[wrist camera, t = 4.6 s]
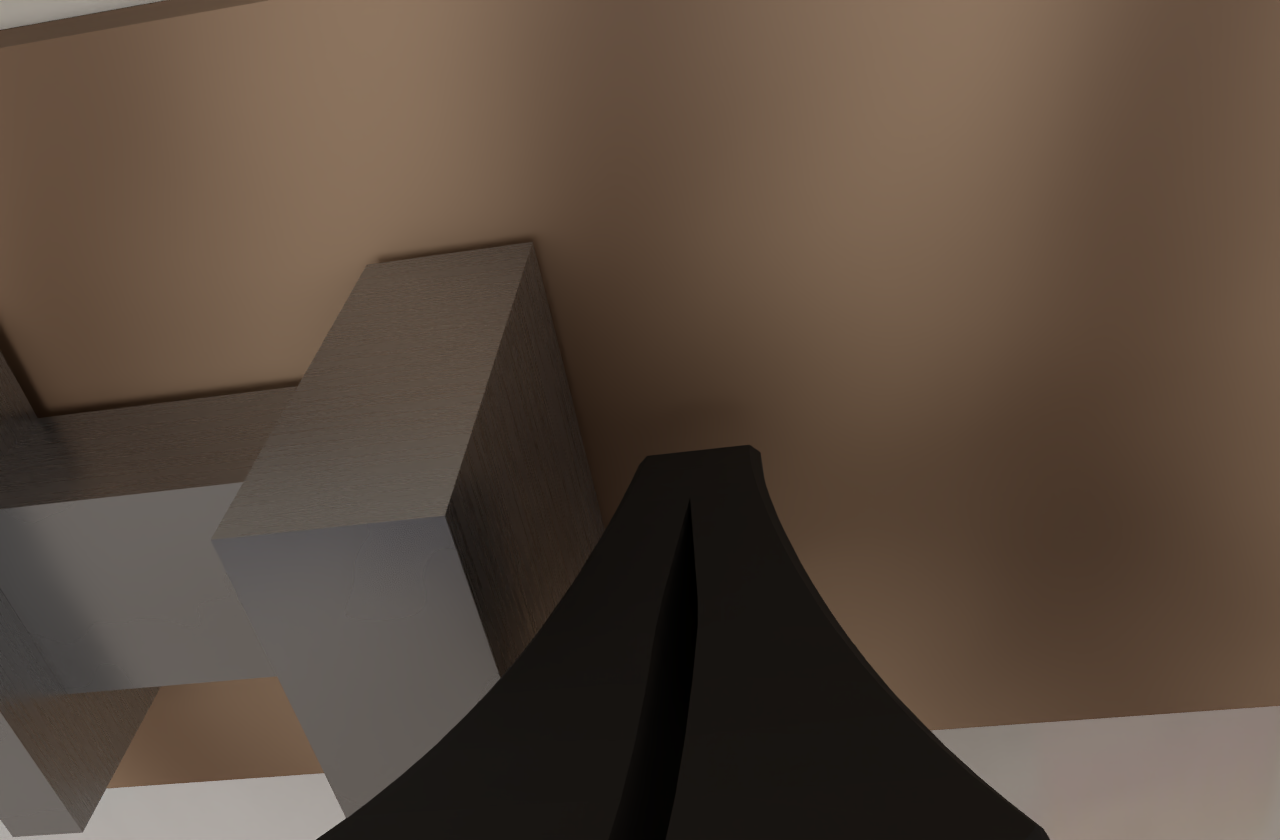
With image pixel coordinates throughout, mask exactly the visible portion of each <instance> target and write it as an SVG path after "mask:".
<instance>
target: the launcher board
mask: <svg viewBox="0 0 1280 840" xmlns="http://www.w3.org/2000/svg"><path fill="white" fill-rule="evenodd" d="M527 242H533V245H534V249H535V253H536V257H537V261H538V265H539V269H540V273H541V277H542V281H543V285H544V289H545V293H546V297H547V301H548V305H549V309H550V313H551V317H552V321H553V325H554V329H555V333H556V337H557V341H558V345H559V349H560V353H561V357H562V361H563V365H564V369H565V373H566V377H567V381H568V385H569V389H570V393H571V397H572V401H573V405H574V409H575V413H576V417H577V421H578V425H579V429H580V433H581V437H582V441H583V445H584V449H585V453H586V457H587V461H588V465H589V469H590V473H591V477H592V481H593V485H594V489H595V493H596V497H597V501H598V505H599V509H600V513H601V517H602V521H603V525H604V529H606V528H607V526H608V524H609V522H610V520H611V519H612V517H613V515H614V513H615V511H616V510H617V508H618V506H619V504H620V502H621V500H622V498H623V496H624V494H625V493H626V491H627V489H628V487H629V485H630V483H631V481H632V479H633V477H634V474H635V472H636V470H637V468H638V466H639V464H640V463H641V462H642V461H643V460H644V459H645V458H646V456H650V455H659V454H668V453H677V452H686V451H695V450H705V449H714V448H723V447H732V446H741V445H751V446H752V447H754V448H755V449H757V450H758V451H759V452H761V458H762V465H763V472H764V478H765V483H766V486H767V489H768V492H769V495H770V498H771V500H772V503H773V505H774V508H775V510H776V513H777V515H778V518H779V520H780V522H781V524H782V526H783V529H784V531H785V533H786V535H787V537H788V538H789V540H790V542H791V544H792V546H793V548H794V550H795V552H796V554H797V556H798V558H799V560H800V562H801V564H802V565H803V567H804V569H805V570H806V572H807V574H808V576H809V577H810V579H811V581H812V583H813V584H814V586H815V587H816V589H817V590H818V592H819V594H820V595H821V597H822V598H823V600H824V602H825V603H826V605H827V606H828V608H829V609H830V611H831V612H832V614H833V615H834V617H835V618H836V620H837V621H838V623H839V624H840V625H841V627H842V628H843V630H844V631H845V632H846V634H847V635H848V637H849V638H850V639H851V641H852V642H853V643H854V645H855V646H856V647H857V648H858V650H859V651H860V652H861V654H862V655H863V656H864V658H865V659H866V660H867V661H868V663H869V664H870V665H871V666H872V667H873V669H874V670H875V671H876V672H877V673H878V675H879V676H880V677H881V678H882V679H883V681H884V682H885V683H886V684H887V685H888V687H889V688H890V689H891V690H892V691H893V692H894V694H895V695H896V696H897V697H898V698H899V699H900V700H901V701H902V702H903V703H904V704H905V705H906V706H907V707H908V708H909V709H910V710H911V711H912V712H913V713H914V714H915V715H916V716H917V718H918V719H919V720H920V721H921V722H922V723H923V724H924V725H925V726H926V727H927V728H928V729H929V730H941V729H955V728H969V727H983V726H998V725H1012V724H1026V723H1040V722H1054V721H1068V720H1083V719H1097V718H1111V717H1125V716H1139V715H1154V714H1168V713H1182V712H1196V711H1210V710H1224V709H1239V708H1253V707H1267V706H1280V0H166V1H161V2H155V3H150V4H144V5H138V6H133V7H127V8H122V9H116V10H111V11H105V12H100V13H94V14H88V15H83V16H77V17H72V18H66V19H61V20H55V21H49V22H44V23H38V24H33V25H27V26H22V27H16V28H10V29H5V30H0V351H1V353H2V354H3V356H4V358H5V360H6V362H7V363H8V365H9V367H10V369H11V371H12V373H13V374H14V376H15V378H16V380H17V382H18V383H19V385H20V387H21V389H22V391H23V392H24V394H25V396H26V398H27V400H28V402H29V403H30V405H31V407H32V409H33V411H34V412H35V414H36V416H37V418H44V417H52V416H60V415H68V414H76V413H84V412H93V411H101V410H109V409H117V408H125V407H133V406H141V405H149V404H157V403H165V402H173V401H181V400H190V399H198V398H206V397H214V396H222V395H230V394H238V393H246V392H254V391H262V390H270V389H279V388H287V387H295V386H298V385H299V383H300V381H301V380H302V378H303V376H304V374H305V373H306V371H307V369H308V367H309V366H310V364H311V362H312V360H313V359H314V357H315V355H316V353H317V352H318V350H319V348H320V346H321V344H322V343H323V341H324V339H325V337H326V336H327V334H328V332H329V330H330V329H331V327H332V325H333V323H334V322H335V320H336V318H337V316H338V315H339V313H340V311H341V309H342V308H343V306H344V304H345V302H346V300H347V299H348V297H349V295H350V293H351V292H352V290H353V288H354V286H355V285H356V283H357V281H358V279H359V278H360V276H361V274H362V272H363V271H364V269H365V267H366V265H369V264H376V263H383V262H390V261H397V260H405V259H412V258H419V257H426V256H433V255H441V254H448V253H455V252H462V251H469V250H477V249H484V248H491V247H498V246H505V245H513V244H520V243H527ZM317 773H324V771H323V769H322V767H321V765H320V763H319V761H318V759H317V757H316V755H315V753H314V751H313V749H312V747H311V745H310V743H309V741H308V739H307V737H306V735H305V733H304V730H303V728H302V726H301V724H300V722H299V720H298V718H297V716H296V714H295V712H294V710H293V708H292V706H291V704H290V702H289V700H288V698H287V696H286V694H285V692H284V690H283V687H282V685H281V683H280V681H279V679H278V677H265V678H253V679H241V680H229V681H217V682H205V683H193V684H182V685H170V686H161V687H160V689H159V691H158V693H157V695H156V697H155V698H154V700H153V702H152V704H151V706H150V708H149V710H148V711H147V713H146V715H145V717H144V719H143V721H142V723H141V725H140V726H139V728H138V730H137V732H136V734H135V736H134V738H133V739H132V741H131V743H130V745H129V747H128V749H127V751H126V752H125V754H124V756H123V758H122V760H121V762H120V764H119V766H118V767H117V769H116V771H115V773H114V775H113V777H112V779H111V780H110V782H109V784H108V786H107V788H119V787H133V786H147V785H161V784H175V783H189V782H204V781H218V780H232V779H246V778H260V777H275V776H289V775H303V774H317Z"/></svg>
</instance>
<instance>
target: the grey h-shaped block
mask: <svg viewBox="0 0 1280 840" xmlns="http://www.w3.org/2000/svg"><path fill="white" fill-rule="evenodd" d="M604 531H605V529H604V525H603V521H602V517H601V513H600V509H599V505H598V501H597V497H596V493H595V489H594V485H593V481H592V477H591V473H590V469H589V465H588V461H587V457H586V453H585V449H584V445H583V441H582V437H581V433H580V429H579V425H578V421H577V417H576V413H575V409H574V405H573V401H572V397H571V393H570V389H569V385H568V381H567V377H566V373H565V369H564V365H563V361H562V357H561V353H560V349H559V345H558V341H557V337H556V333H555V329H554V325H553V321H552V317H551V313H550V309H549V305H548V301H547V297H546V293H545V289H544V285H543V281H542V277H541V273H540V269H539V265H538V261H537V257H536V253H535V249H534V245H533V242H527V243H520V244H513V245H505V246H498V247H491V248H484V249H477V250H469V251H462V252H455V253H448V254H441V255H433V256H426V257H419V258H412V259H405V260H397V261H390V262H383V263H376V264H369V265H366V267H365V269H364V271H363V272H362V274H361V276H360V278H359V279H358V281H357V283H356V285H355V286H354V288H353V290H352V292H351V293H350V295H349V297H348V299H347V300H346V302H345V304H344V306H343V308H342V309H341V311H340V313H339V315H338V316H337V318H336V320H335V322H334V323H333V325H332V327H331V329H330V330H329V332H328V334H327V336H326V337H325V339H324V341H323V343H322V344H321V346H320V348H319V350H318V352H317V353H316V355H315V357H314V359H313V360H312V362H311V364H310V366H309V367H308V369H307V371H306V373H305V374H304V376H303V378H302V380H301V381H300V383H299V385H298V386H295V387H287V388H279V389H270V390H262V391H254V392H246V393H238V394H230V395H222V396H214V397H206V398H198V399H190V400H181V401H173V402H165V403H157V404H149V405H141V406H133V407H125V408H117V409H109V410H101V411H93V412H84V413H76V414H68V415H60V416H52V417H44V418H37V416H36V414H35V412H34V411H33V409H32V407H31V405H30V403H29V402H28V400H27V398H26V396H25V394H24V392H23V391H22V389H21V387H20V385H19V383H18V382H17V380H16V378H15V376H14V374H13V373H12V371H11V369H10V367H9V365H8V363H7V362H6V360H5V358H4V356H3V354H2V353H1V351H0V820H1V821H2V822H3V824H4V825H5V826H6V828H7V829H8V831H9V832H10V833H11V835H12V836H13V837H19V836H34V835H50V834H65V833H81V832H83V831H84V829H85V827H86V825H87V823H88V821H89V820H90V818H91V816H92V814H93V812H94V810H95V808H96V807H97V805H98V803H99V801H100V799H101V797H102V795H103V794H104V792H105V790H106V788H107V786H108V784H109V782H110V780H111V779H112V777H113V775H114V773H115V771H116V769H117V767H118V766H119V764H120V762H121V760H122V758H123V756H124V754H125V752H126V751H127V749H128V747H129V745H130V743H131V741H132V739H133V738H134V736H135V734H136V732H137V730H138V728H139V726H140V725H141V723H142V721H143V719H144V717H145V715H146V713H147V711H148V710H149V708H150V706H151V704H152V702H153V700H154V698H155V697H156V695H157V693H158V691H159V689H160V687H161V686H170V685H182V684H193V683H205V682H217V681H229V680H241V679H253V678H265V677H278V679H279V681H280V683H281V685H282V687H283V690H284V692H285V694H286V696H287V698H288V700H289V702H290V704H291V706H292V708H293V710H294V712H295V714H296V716H297V718H298V720H299V722H300V724H301V726H302V728H303V730H304V733H305V735H306V737H307V739H308V741H309V743H310V745H311V747H312V749H313V751H314V753H315V755H316V757H317V759H318V761H319V763H320V765H321V767H322V769H323V771H324V773H325V776H326V778H327V780H328V782H329V784H330V786H331V788H332V790H333V792H334V794H335V796H336V798H337V800H338V802H339V804H340V806H341V808H342V810H343V812H344V814H345V816H346V818H348V817H349V816H350V815H352V814H353V813H354V812H356V811H357V810H358V809H359V808H361V807H362V806H363V805H365V804H366V803H367V802H369V801H370V800H371V799H372V798H374V797H375V796H376V795H377V794H379V793H380V792H381V791H382V790H384V789H385V788H386V787H387V786H388V785H390V784H391V783H392V782H393V781H395V780H396V779H397V778H398V777H400V776H401V775H402V774H403V773H404V772H405V771H407V770H408V769H409V768H410V767H411V766H412V765H414V764H415V763H416V762H417V761H418V760H419V759H420V758H422V757H423V756H424V755H425V754H426V753H427V752H428V751H430V750H431V749H432V748H433V747H434V746H435V745H436V744H437V743H438V742H439V741H440V740H441V739H442V738H443V737H444V736H445V735H446V734H447V733H448V732H449V731H450V730H451V729H452V728H453V727H454V726H456V725H457V724H458V723H459V722H460V721H461V720H462V719H463V718H464V717H465V716H466V715H467V714H468V713H469V711H470V710H471V709H472V708H473V707H474V706H475V705H476V704H477V703H478V702H479V701H480V700H481V699H482V698H483V697H484V696H485V695H486V694H487V693H488V692H489V690H490V689H491V688H492V687H493V686H494V685H495V684H496V683H497V681H498V680H499V679H500V678H501V677H502V676H503V674H504V673H505V672H506V671H507V670H508V669H509V667H510V666H511V665H512V664H513V663H514V662H515V660H516V659H517V658H518V657H519V655H520V654H521V653H522V652H523V651H524V649H525V648H526V647H527V645H528V644H529V643H530V642H531V640H532V639H533V638H534V636H535V635H536V634H537V633H538V631H539V630H540V629H541V627H542V626H543V624H544V623H545V622H546V620H547V619H548V617H549V616H550V614H551V613H552V612H553V610H554V609H555V607H556V606H557V604H558V603H559V602H560V600H561V599H562V597H563V596H564V595H565V593H566V592H567V590H568V589H569V587H570V586H571V585H572V583H573V582H574V580H575V578H576V577H577V575H578V574H579V572H580V571H581V569H582V567H583V566H584V564H585V562H586V561H587V559H588V558H589V556H590V554H591V553H592V551H593V549H594V548H595V546H596V544H597V543H598V541H599V539H600V538H601V536H602V535H603V533H604Z"/></svg>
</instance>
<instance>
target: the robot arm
mask: <svg viewBox="0 0 1280 840" xmlns="http://www.w3.org/2000/svg"><path fill="white" fill-rule="evenodd" d="M316 840H1050V839H1049V837H1048V836H1047V834H1046V832H1045V831H1044V829H1043V828H1042V827H1041V826H1039V825H1038V824H1037V823H1035V822H1034V821H1033V820H1032V819H1030V818H1029V817H1028V816H1026V815H1025V814H1024V813H1023V812H1021V811H1020V810H1019V809H1017V808H1016V807H1015V806H1014V805H1012V804H1011V803H1010V802H1008V801H1007V800H1006V799H1005V798H1004V797H1002V796H1001V795H1000V794H999V793H998V792H996V791H995V790H994V789H993V788H992V787H990V786H989V785H988V784H987V783H986V782H984V781H983V780H982V779H981V778H980V777H979V776H977V775H976V774H975V773H974V772H973V771H972V770H971V769H970V768H969V767H968V766H967V765H965V764H964V763H963V762H962V761H961V760H960V759H959V758H958V757H957V756H956V755H954V754H953V753H952V752H951V751H950V750H949V749H948V748H947V747H946V746H945V745H944V744H943V743H942V742H941V741H940V740H939V739H938V738H937V737H936V736H935V735H934V734H933V733H932V732H931V731H930V730H929V729H928V728H927V727H926V726H925V725H924V724H923V723H922V722H921V721H920V720H919V719H918V718H917V716H916V715H915V714H914V713H913V712H912V711H911V710H910V709H909V708H908V707H907V706H906V705H905V704H904V703H903V702H902V701H901V700H900V699H899V698H898V697H897V696H896V695H895V694H894V692H893V691H892V690H891V689H890V688H889V687H888V685H887V684H886V683H885V682H884V681H883V679H882V678H881V677H880V676H879V675H878V673H877V672H876V671H875V670H874V669H873V667H872V666H871V665H870V664H869V663H868V661H867V660H866V659H865V658H864V656H863V655H862V654H861V652H860V651H859V650H858V648H857V647H856V646H855V645H854V643H853V642H852V641H851V639H850V638H849V637H848V635H847V634H846V632H845V631H844V630H843V628H842V627H841V625H840V624H839V623H838V621H837V620H836V618H835V617H834V615H833V614H832V612H831V611H830V609H829V608H828V606H827V605H826V603H825V602H824V600H823V598H822V597H821V595H820V594H819V592H818V590H817V589H816V587H815V586H814V584H813V583H812V581H811V579H810V577H809V576H808V574H807V572H806V570H805V569H804V567H803V565H802V564H801V562H800V560H799V558H798V556H797V554H796V552H795V550H794V548H793V546H792V544H791V542H790V540H789V538H788V537H787V535H786V533H785V531H784V529H783V526H782V524H781V522H780V520H779V518H778V515H777V513H776V510H775V508H774V505H773V503H772V500H771V498H770V495H769V492H768V489H767V486H766V483H765V478H764V472H763V465H762V458H761V452H759V451H758V450H757V449H755V448H754V447H752V446H751V445H741V446H732V447H723V448H714V449H705V450H695V451H686V452H677V453H668V454H659V455H650V456H646V458H645V459H644V460H643V461H642V462H641V463H640V464H639V466H638V468H637V470H636V472H635V474H634V477H633V479H632V481H631V483H630V485H629V487H628V489H627V491H626V493H625V494H624V496H623V498H622V500H621V502H620V504H619V506H618V508H617V510H616V511H615V513H614V515H613V517H612V519H611V520H610V522H609V524H608V526H607V528H606V529H605V531H604V533H603V535H602V536H601V538H600V539H599V541H598V543H597V544H596V546H595V548H594V549H593V551H592V553H591V554H590V556H589V558H588V559H587V561H586V562H585V564H584V566H583V567H582V569H581V571H580V572H579V574H578V575H577V577H576V578H575V580H574V582H573V583H572V585H571V586H570V587H569V589H568V590H567V592H566V593H565V595H564V596H563V597H562V599H561V600H560V602H559V603H558V604H557V606H556V607H555V609H554V610H553V612H552V613H551V614H550V616H549V617H548V619H547V620H546V622H545V623H544V624H543V626H542V627H541V629H540V630H539V631H538V633H537V634H536V635H535V636H534V638H533V639H532V640H531V642H530V643H529V644H528V645H527V647H526V648H525V649H524V651H523V652H522V653H521V654H520V655H519V657H518V658H517V659H516V660H515V662H514V663H513V664H512V665H511V666H510V667H509V669H508V670H507V671H506V672H505V673H504V674H503V676H502V677H501V678H500V679H499V680H498V681H497V683H496V684H495V685H494V686H493V687H492V688H491V689H490V690H489V692H488V693H487V694H486V695H485V696H484V697H483V698H482V699H481V700H480V701H479V702H478V703H477V704H476V705H475V706H474V707H473V708H472V709H471V710H470V711H469V713H468V714H467V715H466V716H465V717H464V718H463V719H462V720H461V721H460V722H459V723H458V724H457V725H456V726H454V727H453V728H452V729H451V730H450V731H449V732H448V733H447V734H446V735H445V736H444V737H443V738H442V739H441V740H440V741H439V742H438V743H437V744H436V745H435V746H434V747H433V748H432V749H431V750H430V751H428V752H427V753H426V754H425V755H424V756H423V757H422V758H420V759H419V760H418V761H417V762H416V763H415V764H414V765H412V766H411V767H410V768H409V769H408V770H407V771H405V772H404V773H403V774H402V775H401V776H400V777H398V778H397V779H396V780H395V781H393V782H392V783H391V784H390V785H388V786H387V787H386V788H385V789H384V790H382V791H381V792H380V793H379V794H377V795H376V796H375V797H374V798H372V799H371V800H370V801H369V802H367V803H366V804H365V805H363V806H362V807H361V808H359V809H358V810H357V811H356V812H354V813H353V814H352V815H350V816H349V817H348V818H346V819H345V820H343V821H342V822H340V823H339V824H338V825H336V826H335V827H333V828H332V829H330V830H329V831H328V832H326V833H325V834H323V835H322V836H321V837H319V838H318V839H316Z"/></svg>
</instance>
